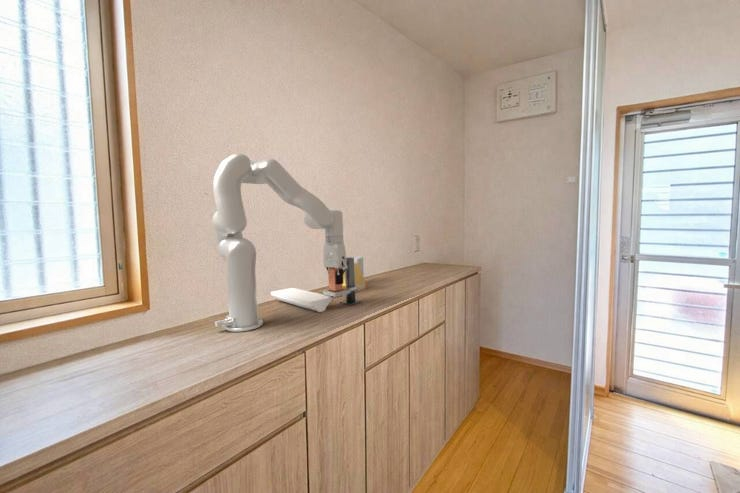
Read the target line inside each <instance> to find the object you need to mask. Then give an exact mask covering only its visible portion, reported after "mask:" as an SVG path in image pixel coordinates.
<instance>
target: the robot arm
mask: <svg viewBox="0 0 740 493" xmlns="http://www.w3.org/2000/svg"><path fill="white" fill-rule="evenodd" d="M242 184H250V185H268V187H269V188H271V189H272V190H273V191H274V192H275V193H276V194H277V195H278V197H279V198H281V200H283V202H285V203H287V204H289V205H290V206H293V207H296V208H299V209H301V210H302V211H303V212H305V213H306V214H305V215H304V224H305V225H306V227H308V228H309V229H313V230H324V235H325V236H324V237H325V243H324V247H323V257H322V258H323V266H324V268H326V271H327V272H328V269H330V268H336V270H337V275H336V281H337V285H339V284H343V274H344V272H345V270H346V269H347V268H348V267H347V265H346V258H347V253H346V247H345V246H346V245H345V242H344V222H343V221H344V218H343V212H342V210H339V209H338V210H337V209H336V210H334V209H331V210H330V209H329V207H328V206H327V205H326V204H325V203H324V202H323V201H322V200H321V199H320V198H319V197H317V196H316V195H315V194H313V193H311V192H310V191H309V190H307V189H306V188H304V187H303V186H301V184H300V183H298V182H297V181H296V179H295V178H294V177H293V176H292V175H291V174H290V173H289V171H288V170H286V169H285V168H284V166H282V164H281V163H280V162H278V160H276V159H275V158H266V159H265V158H264V159H263V160H260V161H251V160H250V158H249V156H248V155H246V154H243V153H241V152H240V153H239V152H237V153H233V154H231V155H229V156H228V157H226V158H225V159H223V160H222V161H221V162H220V164H219V167H218V168H217V169H216V172H215V174H214V178H213V184H212V186H213V187H212V190H213V197H214V202H215V208H216V212H214V214H213V217H212V223H211V224H212V229H213V232H214V237H215V240H216V241H215V242H216V246H217V250H218V253H219V255H220V257H221V258H222V259H223V260H224V261H225V262H226V286H227V288H226V289H227V300H228V302H227V304H228V314H227V315H226V317H225V318H224V319H219V320H216V321H214V325H215V327H216V328H217V327H224V329H225V330H226V331H228V332H235V333H238V332H248V331H252V330H255V329H258V328H260V327H262V326H263V325H264V321H263V319H261V318H259V311H258V293H257V278H256V275H257V274H256V264H257V263H256V262H257V250H256V246H255V245H254V243H253V242H252V241H251V240H249V239H248V238H246V237H244V236H243V235H244V234H243V232H244V230H245V229H246V227H247V224H248V221H247V216H246V211H245V208H244V203H243V198H242V190H241V188H242ZM339 269H340V271H339Z"/></svg>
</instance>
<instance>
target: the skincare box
mask: <svg viewBox="0 0 740 493" xmlns="http://www.w3.org/2000/svg"><path fill="white" fill-rule="evenodd" d="M352 257H353V258H354V263H357V264H358V266H359V268H360V271H361V273H362V275H363V277H364V274H365V273H364V256H352Z"/></svg>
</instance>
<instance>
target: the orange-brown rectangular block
mask: <svg viewBox="0 0 740 493" xmlns="http://www.w3.org/2000/svg"><path fill="white" fill-rule="evenodd" d="M339 271H340V269H339ZM327 274H328V289H329V291H333V292H338V291H343V287H342V284H339V285H337V281H336V275H337V270H336V268H330V269H328V271H327ZM331 297H332V299H339V298H341V297H344V296H343V295H341V296H337V297H333V296H331Z"/></svg>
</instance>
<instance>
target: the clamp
mask: <svg viewBox="0 0 740 493" xmlns="http://www.w3.org/2000/svg"><path fill="white" fill-rule="evenodd" d="M354 273H355V285H361V286H362V289H361V290H357V291H355V293H357V292H360V291H362V290H364V289H366V288H367V286H366V280H365V278H364V277H363V275H362V273H361V271H360V268H359V266H358V264H357V263H354ZM344 286H346V277H345V272H344V274H343V284H342V287H344ZM344 296H346V294H345V295H343V297H344Z"/></svg>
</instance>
